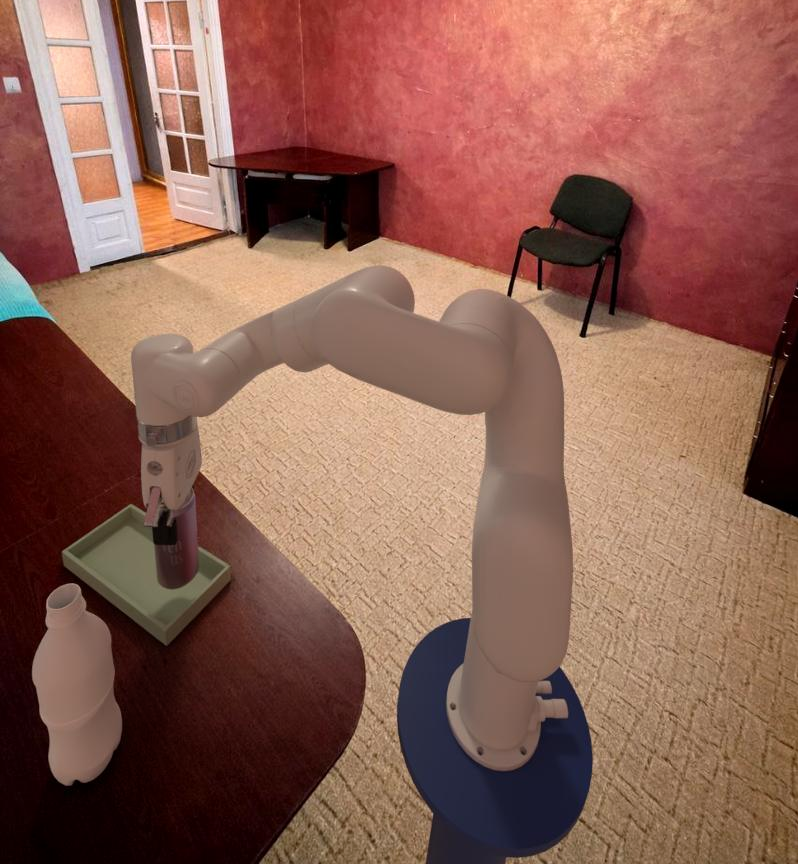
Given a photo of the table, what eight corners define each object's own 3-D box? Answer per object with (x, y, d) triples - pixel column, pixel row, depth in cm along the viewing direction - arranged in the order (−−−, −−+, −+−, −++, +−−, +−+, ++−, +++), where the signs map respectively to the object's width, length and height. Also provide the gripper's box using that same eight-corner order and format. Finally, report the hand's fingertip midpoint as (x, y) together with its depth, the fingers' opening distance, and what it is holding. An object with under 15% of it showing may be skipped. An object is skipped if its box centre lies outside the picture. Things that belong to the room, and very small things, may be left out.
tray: (231, 579, 80) (230, 565, 79) (166, 646, 69) (165, 631, 68) (132, 516, 90) (131, 503, 89) (63, 565, 80) (61, 551, 79)
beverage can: (202, 555, 79) (198, 479, 74) (195, 589, 73) (191, 509, 69) (162, 560, 77) (156, 483, 73) (152, 595, 72) (145, 514, 67)
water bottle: (137, 738, 59) (119, 582, 52) (79, 811, 53) (49, 644, 45) (97, 708, 62) (75, 555, 54) (38, 773, 55) (3, 610, 48)
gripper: (169, 464, 59) (178, 577, 64) (215, 389, 76) (218, 483, 81) (106, 462, 59) (120, 576, 64) (166, 387, 75) (173, 482, 80)
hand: (175, 523), depth 72 cm, fingers closed on beverage can, 6 cm apart
